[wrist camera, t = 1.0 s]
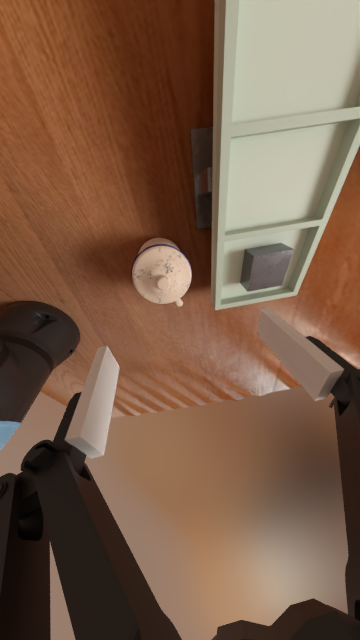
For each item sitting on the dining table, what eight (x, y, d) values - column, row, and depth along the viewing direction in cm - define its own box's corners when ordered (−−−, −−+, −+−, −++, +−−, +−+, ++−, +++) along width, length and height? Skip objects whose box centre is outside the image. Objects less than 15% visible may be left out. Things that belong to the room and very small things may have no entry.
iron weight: (240, 283, 30) (247, 291, 28) (244, 249, 26) (254, 256, 24) (271, 277, 30) (281, 285, 28) (281, 242, 26) (294, 249, 24)
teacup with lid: (126, 251, 30) (113, 271, 21) (170, 225, 29) (178, 234, 20) (159, 302, 37) (161, 335, 27) (196, 283, 36) (212, 310, 26)
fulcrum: (196, 228, 30) (206, 233, 24) (189, 131, 23) (201, 108, 18) (292, 212, 31) (322, 213, 25) (313, 113, 24) (361, 85, 18)
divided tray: (210, 301, 33) (215, 310, 31) (218, -326, 8) (243, -497, 6) (287, 287, 34) (296, 295, 32) (515, -338, 9) (629, -497, 7)
